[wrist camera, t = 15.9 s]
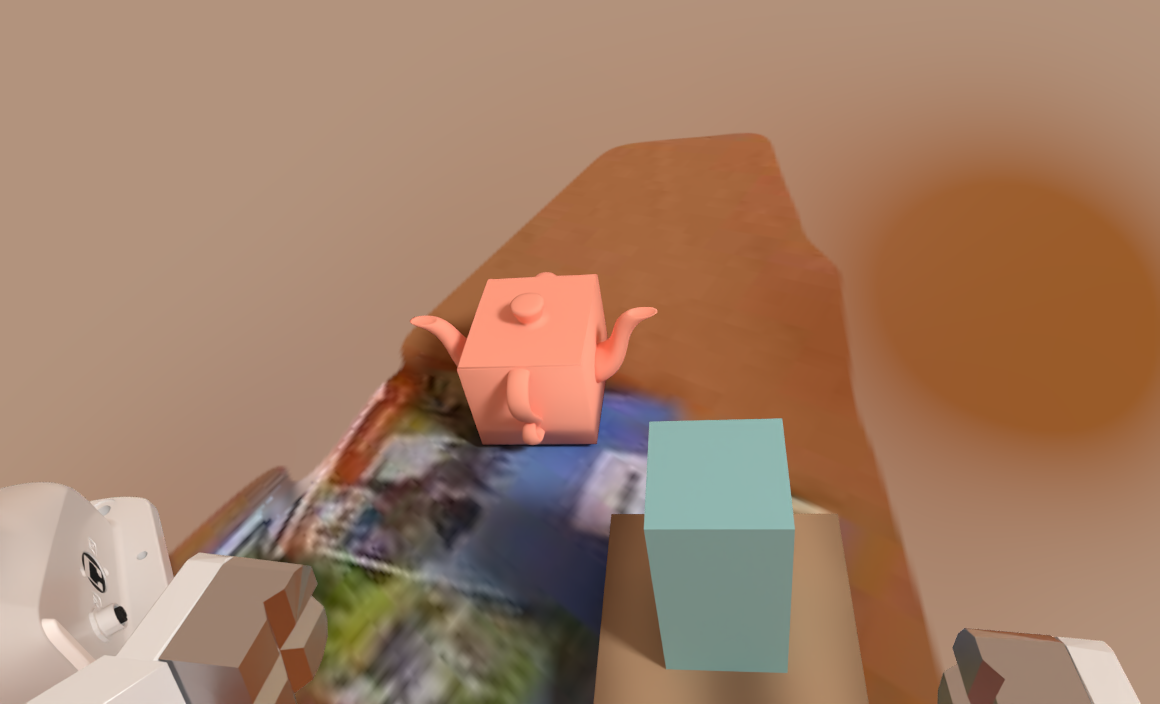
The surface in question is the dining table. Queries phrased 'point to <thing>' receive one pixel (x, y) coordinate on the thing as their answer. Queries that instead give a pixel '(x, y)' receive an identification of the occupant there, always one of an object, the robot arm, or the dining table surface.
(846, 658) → the walnut plinth
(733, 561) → the teal pillar
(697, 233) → the dining table surface
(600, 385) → the teapot
